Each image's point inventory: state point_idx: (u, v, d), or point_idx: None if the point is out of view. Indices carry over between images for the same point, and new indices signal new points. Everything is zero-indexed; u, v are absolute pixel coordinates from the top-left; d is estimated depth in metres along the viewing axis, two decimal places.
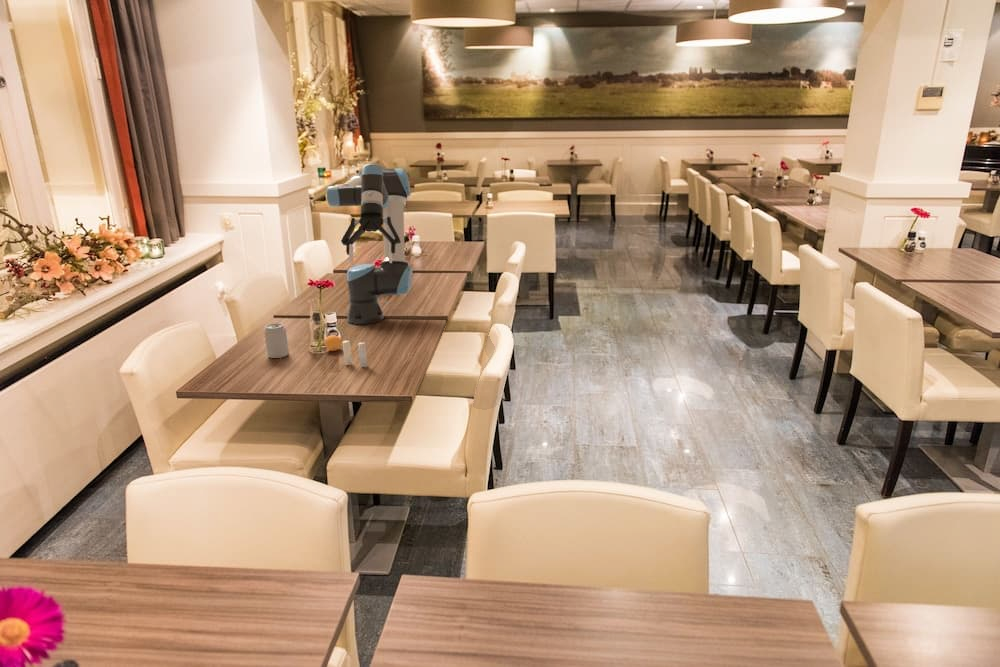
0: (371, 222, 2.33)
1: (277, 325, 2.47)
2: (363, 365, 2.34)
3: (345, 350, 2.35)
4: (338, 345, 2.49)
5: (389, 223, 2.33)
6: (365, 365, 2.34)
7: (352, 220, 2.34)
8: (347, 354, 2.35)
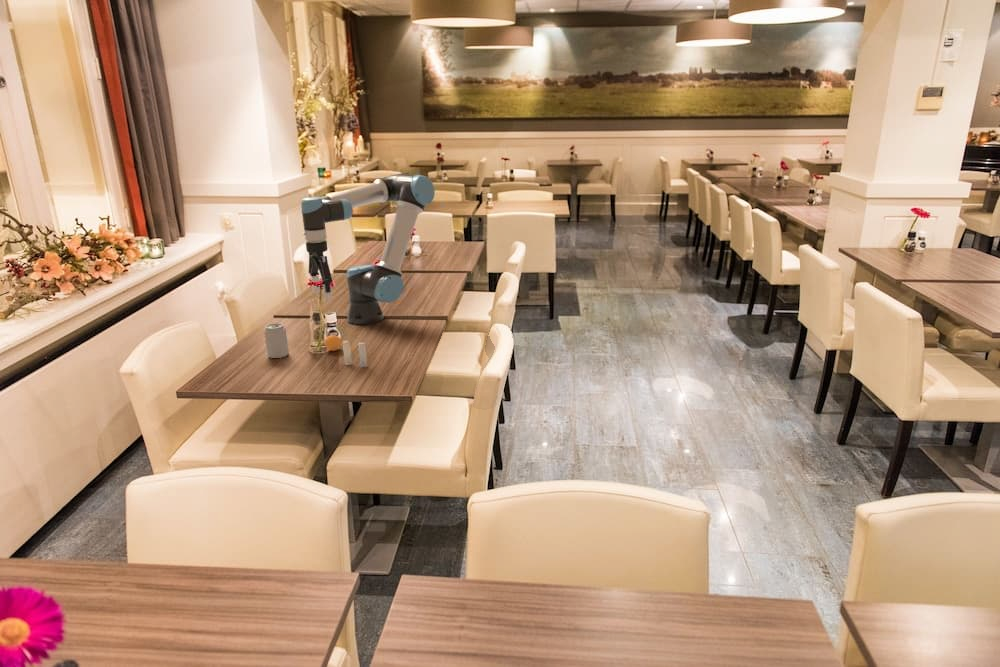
0: None
1: (277, 325, 2.47)
2: (363, 365, 2.34)
3: (345, 350, 2.35)
4: (338, 345, 2.49)
5: (320, 264, 2.42)
6: (365, 365, 2.34)
7: (309, 253, 2.52)
8: (347, 354, 2.35)
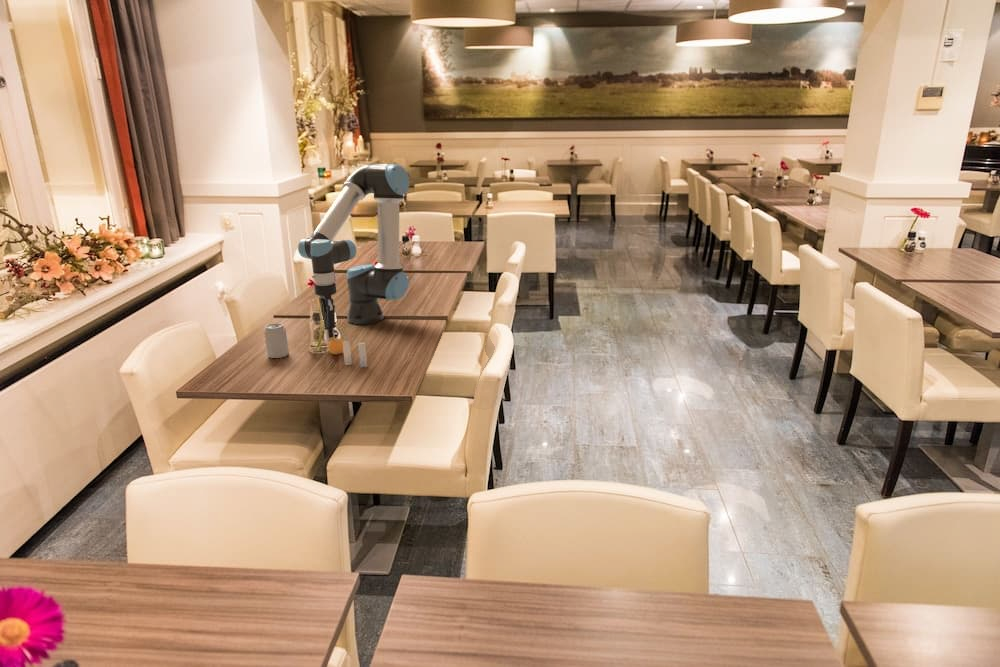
0: (323, 299, 2.43)
1: (277, 325, 2.47)
2: (363, 365, 2.34)
3: (345, 350, 2.35)
4: None
5: (327, 311, 2.41)
6: (365, 365, 2.34)
7: None
8: (347, 354, 2.35)
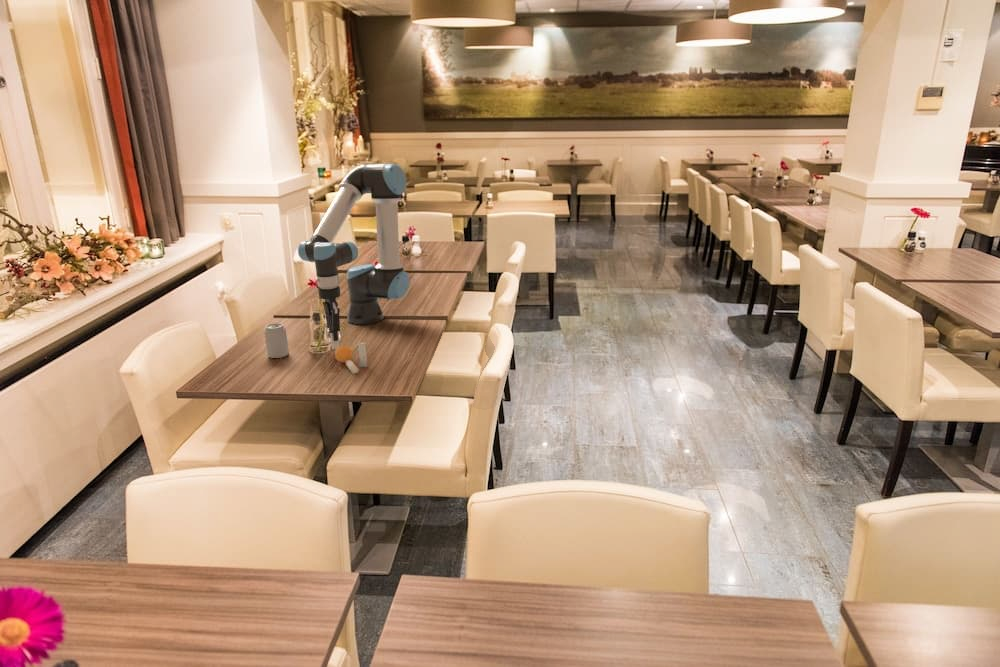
0: None
1: (277, 325, 2.47)
2: (363, 365, 2.34)
3: None
4: (345, 346, 2.39)
5: (332, 314, 2.39)
6: (365, 365, 2.34)
7: (323, 304, 2.47)
8: None
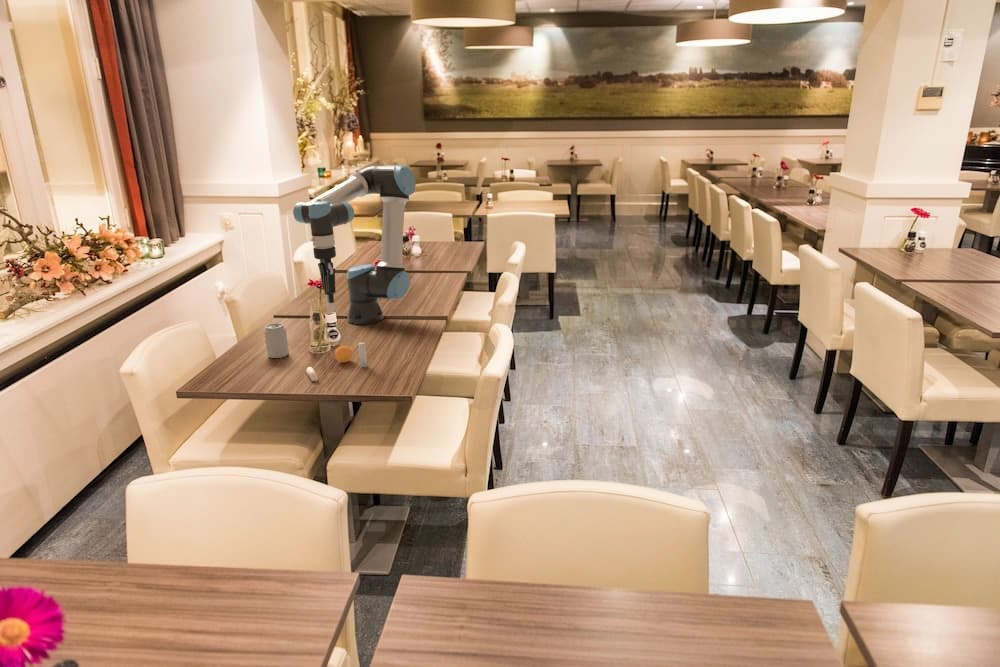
0: (323, 263, 2.37)
1: (277, 325, 2.47)
2: (363, 365, 2.34)
3: None
4: (345, 346, 2.39)
5: (327, 275, 2.35)
6: (365, 365, 2.34)
7: None
8: None
